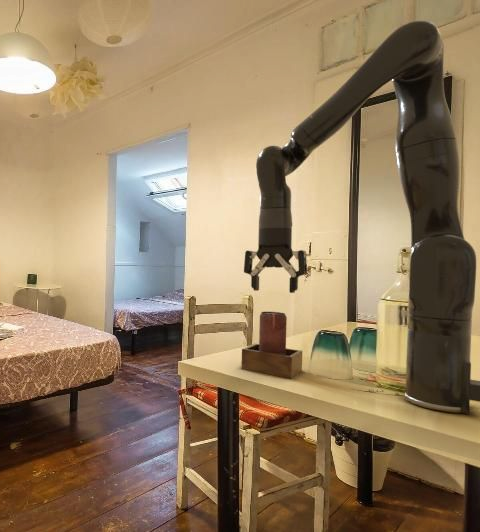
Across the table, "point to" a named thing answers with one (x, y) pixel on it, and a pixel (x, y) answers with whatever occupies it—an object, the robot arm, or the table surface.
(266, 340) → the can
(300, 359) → the holder
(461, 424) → the table surface
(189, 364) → the table surface
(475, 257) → the robot arm
